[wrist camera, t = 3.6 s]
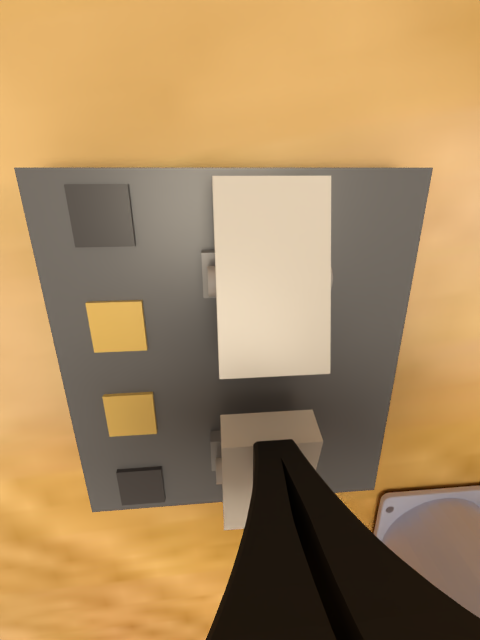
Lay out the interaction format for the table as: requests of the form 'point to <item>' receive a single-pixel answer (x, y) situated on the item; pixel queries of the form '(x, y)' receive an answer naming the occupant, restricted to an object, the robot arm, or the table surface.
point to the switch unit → (208, 323)
